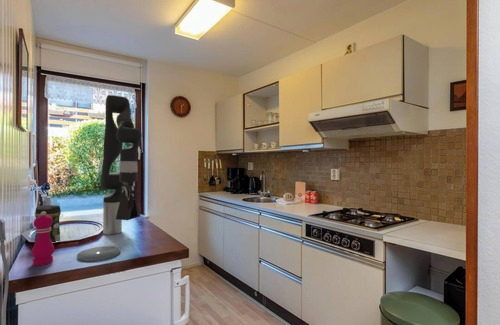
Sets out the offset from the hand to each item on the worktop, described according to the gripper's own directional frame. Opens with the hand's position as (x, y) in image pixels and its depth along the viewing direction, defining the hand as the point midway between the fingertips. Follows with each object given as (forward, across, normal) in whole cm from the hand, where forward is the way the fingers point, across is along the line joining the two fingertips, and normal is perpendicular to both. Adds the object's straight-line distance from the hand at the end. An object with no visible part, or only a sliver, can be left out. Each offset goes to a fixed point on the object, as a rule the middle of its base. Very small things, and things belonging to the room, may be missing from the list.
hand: (128, 207), depth 125 cm
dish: (+19, +2, -12) cm, 22 cm away
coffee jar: (+19, -30, -28) cm, 45 cm away
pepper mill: (+19, -2, -31) cm, 36 cm away
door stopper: (+5, 0, 0) cm, 5 cm away
